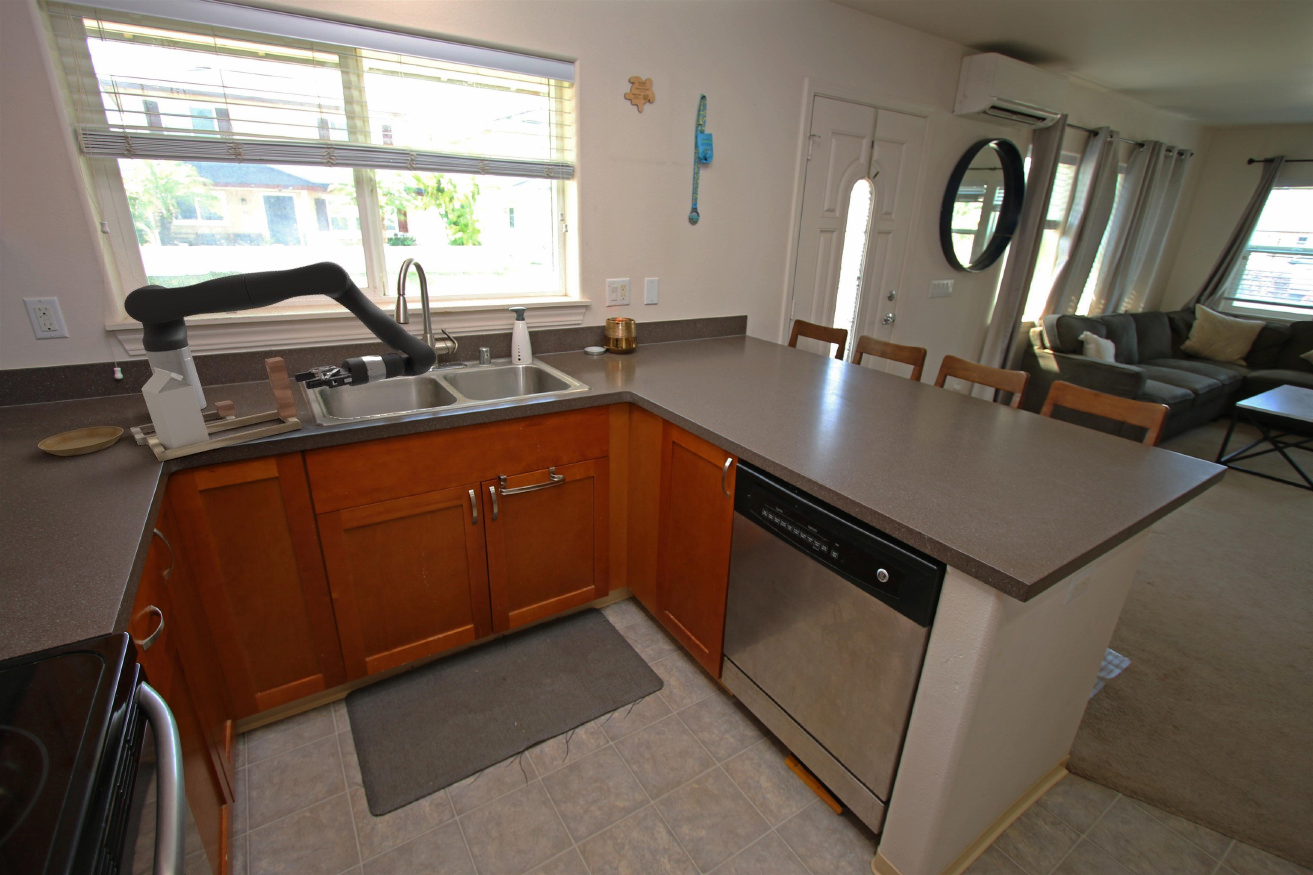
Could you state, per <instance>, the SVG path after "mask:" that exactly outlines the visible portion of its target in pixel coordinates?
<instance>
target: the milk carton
mask: <svg viewBox="0 0 1313 875" xmlns="http://www.w3.org/2000/svg"><path fill="white" fill-rule="evenodd" d="M154 370H155V373H154V375H153V374H152V376H151V377H150V378H148V380H147V381H146V382H145V383H144V385H143V386H142V388H141V391H142V392H141V393H142V395H143V398H144V401H145V404H146V407H147V410H148V413H149V416H150V419H151V421H152V422H151V423H153V425H154V428H155V433H156V434H157V436H158V439H159V442H160V444H161V445H162V447H163V448H164V449H165V450H169V449H174V448H178V447H183V446H187V445H191V444H196V443H200V442H205V441H209V440H211V439H210V437H209V433H207V429H206V426H205V423H204V420H203V416H202V409H200V406H199V403H198V400H197V397H196V393H195V390H194V387H193V385H190V384H188V383H185V382H183V381H181V380H182V378H183V376H181V375H178V374H176V373H170V372H168V371H165V370H161V369H158V368H154Z"/></svg>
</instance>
